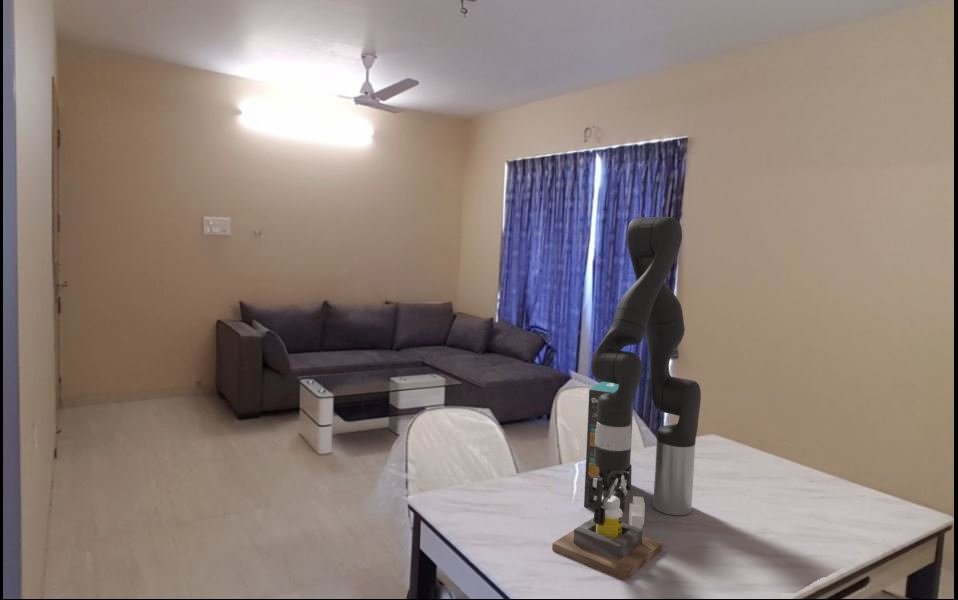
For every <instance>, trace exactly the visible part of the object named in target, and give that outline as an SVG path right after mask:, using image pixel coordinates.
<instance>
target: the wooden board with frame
mask: <svg viewBox="0 0 958 600" xmlns="http://www.w3.org/2000/svg"><path fill="white" fill-rule="evenodd" d="M643 533H644V528H642V529H640V528H637V527H634V526H631V525H629V523H625V522H623V521H622V535H621V536H620V537H618V538H617V539H616V540H614V539H611V538H609V537H606V536H603V535H601V534H598V533H596V523H594V517H592V518H591V519H588V520H587V521H586V522H583V524H581V525H579V526H577V527H576V528H574V529H573V530H572V531H570V532H568V533H567V534H565V535H563V536H562V537H560V538H559V539H556V540H555V541H554V542H552V543H551V545H552V547H551V548H552V551H554V552H557V553H559V554H561V555H564V556H566V557H568V558H571V559H573V560H576V561H578V562H581V563H583V564H586V565H587V566H590V567H593V568H595V569H596V570H599V571H602V572H604V573H607V574H609V575H612V576H614V577H616V578H618V579H621V580H623V581H626V580H627V579H628V578H630V577H631V576H632V575H634V573H636V572H637V571H638V570H640V568H642V567H643V566H645V564H646V563H648V562H649V561H651V560H652V559H653V558H654V557H655V556H657V555H658V554H659V553H660V552H661V551H663V546H664V545H663V542H661V541H658V540H655V539H653V538H650V537H646V536H644V535H643Z"/></svg>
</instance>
